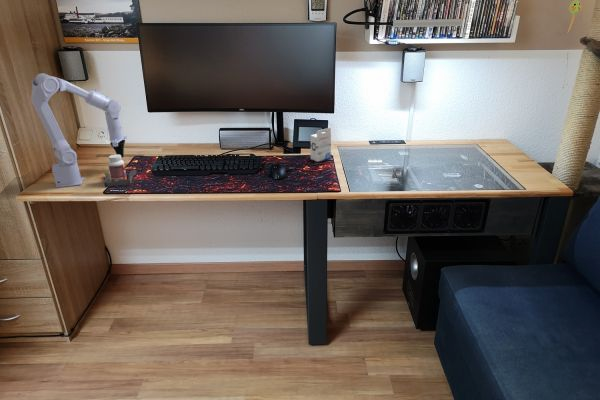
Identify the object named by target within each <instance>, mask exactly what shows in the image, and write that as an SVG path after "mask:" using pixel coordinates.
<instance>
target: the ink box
mask: <svg viewBox="0 0 600 400" xmlns="http://www.w3.org/2000/svg"><path fill="white" fill-rule="evenodd" d="M331 131H332V129H331V127H327V128H324V129H319V130H316V133H315V134H310V160H312V161H315V162H316V163H317V162H321V161H325V160H328V159H330V158H331V157H332V156H331V155H332V152H331V151H332V150H331V149H332V144H331V143H332V132H331Z"/></svg>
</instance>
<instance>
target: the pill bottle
mask: <svg viewBox="0 0 600 400" xmlns="http://www.w3.org/2000/svg"><path fill="white" fill-rule="evenodd" d="M108 160H109V161H108V164H107V165H108V170H109V174H110V178H111V179H110V181H115V180H126V179H128V176H127V171H126V165H125V161H124V160H123V159H122V158H121V155H118V154H116V153H115V154H111V155H109V156H108Z"/></svg>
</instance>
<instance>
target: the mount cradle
mask: <svg viewBox="0 0 600 400" xmlns="http://www.w3.org/2000/svg"><path fill="white" fill-rule="evenodd" d="M137 173H138V172H137V169H132V170H131V171H129V173H128V176H127V179H126V180H115V181H111V176H110V172H107V171H105V172H104V177H105V179H104V181H103V185H104V188H109V187H119V186H120V187H121V186H127V185H128V186H129V185H131V184H132V180H133V177H135V176H136V175H137Z"/></svg>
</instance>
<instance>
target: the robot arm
mask: <svg viewBox="0 0 600 400" xmlns="http://www.w3.org/2000/svg"><path fill="white" fill-rule="evenodd" d="M31 86H32V87H31V95H30V101H31V104H32V106H33V108H34V109H35V111H36V114H37V115H38V117H39V120H40V122H41V124H42V125H43V127H44V129H45V131H46V133H47V136H48V137H49V139H50V141H51V146H52V148H53V155H54V157H55V158H56V159H57V162H56V163H52V167H51V171H52V175H53V179H54V182H55V188H63V187H64V188H65V187H73V186H80V185H82V183H83V181H84V179H85V177H84V176H82V175H81V172H80V169H79V163H78V160H77V159H78V155H77V153H76V151H75V150H73V149H72V148H71V145H70V144H69V143H68V141H67V140H66V138H65V136H64V134H63V132H62V130H61V128H60V126H59V124H58V121H57V120H56V117H55V116H54V113H53V111H52V109H51V107H50V105H49V104H48V102H49V101H50V99H51V97H52V96H53V95H55V94H56V93H57V92H58V91H59V92H65V91H66V92H69V93H71V94H74V95H76V96H79V97H81V98H83V99H84V101H85V103H86V104H88V105H90V106H93V107H95V108H97V109H99V110H102V111H103V112H104V115H105V120H106V125H107V130H108V134H109V141H110V146H111V147H112V149H113V150H114V151H115V155H116V154H118V155H121V159H122V158H124V156H125V155H124V153H125V152H124V151H125V150H124V148H125V144H126V139H127V138H128V136H127V135H125V134H124V130H123V125H122V124H123V123H122V120H121V114H120V111H121V110H122V109H121V105H120V104H119V102H118V101H116V100H115V99H112V98H110V96H108V95H103V94H101V93H100V92H99V91H98V90H96V89H95V90H93V89H90V90H85V89H83V88H81V87H79V86H77V85H76V84H73V83H71V82H69V81H67V80H65V79H62V78H59V77H56V76H53V75H48V74H47V73H38V74H37V75H35V77H34V79H33V80H32V81H31Z"/></svg>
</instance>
